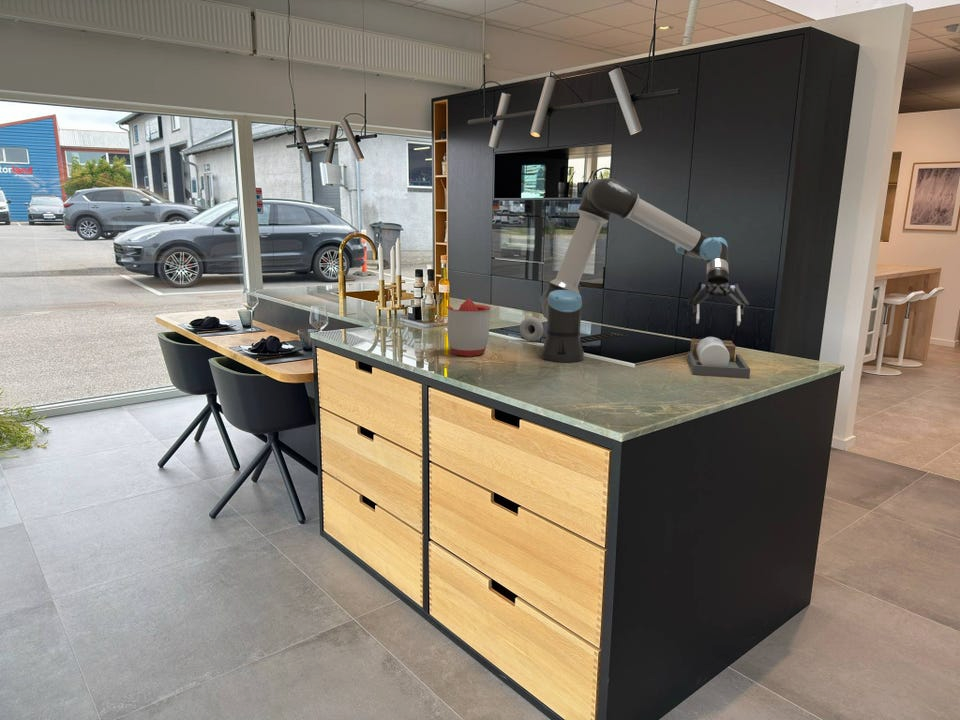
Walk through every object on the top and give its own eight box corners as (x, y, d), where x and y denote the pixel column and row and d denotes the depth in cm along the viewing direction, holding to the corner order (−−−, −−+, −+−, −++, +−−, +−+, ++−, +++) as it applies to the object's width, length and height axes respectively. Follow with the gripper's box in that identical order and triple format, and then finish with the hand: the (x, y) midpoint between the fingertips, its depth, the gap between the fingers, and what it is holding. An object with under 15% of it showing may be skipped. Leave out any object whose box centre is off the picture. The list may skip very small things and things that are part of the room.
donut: (544, 342, 268) (545, 317, 266) (540, 343, 265) (541, 318, 263) (521, 339, 273) (522, 314, 271) (517, 340, 270) (518, 315, 268)
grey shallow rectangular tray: (687, 359, 242) (687, 351, 241) (738, 362, 238) (739, 354, 237) (692, 374, 220) (693, 365, 220) (749, 378, 217) (750, 369, 216)
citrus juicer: (465, 346, 257) (466, 294, 253) (498, 354, 245) (499, 299, 241) (434, 352, 247) (434, 297, 242) (467, 360, 235) (467, 302, 230)
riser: (689, 354, 250) (691, 338, 249) (729, 356, 247) (731, 340, 246) (692, 360, 241) (693, 343, 239) (733, 363, 238) (735, 346, 237)
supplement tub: (730, 345, 233) (736, 354, 219) (714, 368, 235) (720, 378, 221) (705, 330, 233) (710, 339, 219) (690, 353, 236) (694, 363, 222)
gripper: (752, 282, 246) (754, 330, 235) (680, 279, 251) (679, 326, 240) (756, 269, 240) (758, 317, 229) (682, 266, 245) (681, 314, 234)
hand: (718, 322), depth 235 cm, fingers open, 13 cm apart
